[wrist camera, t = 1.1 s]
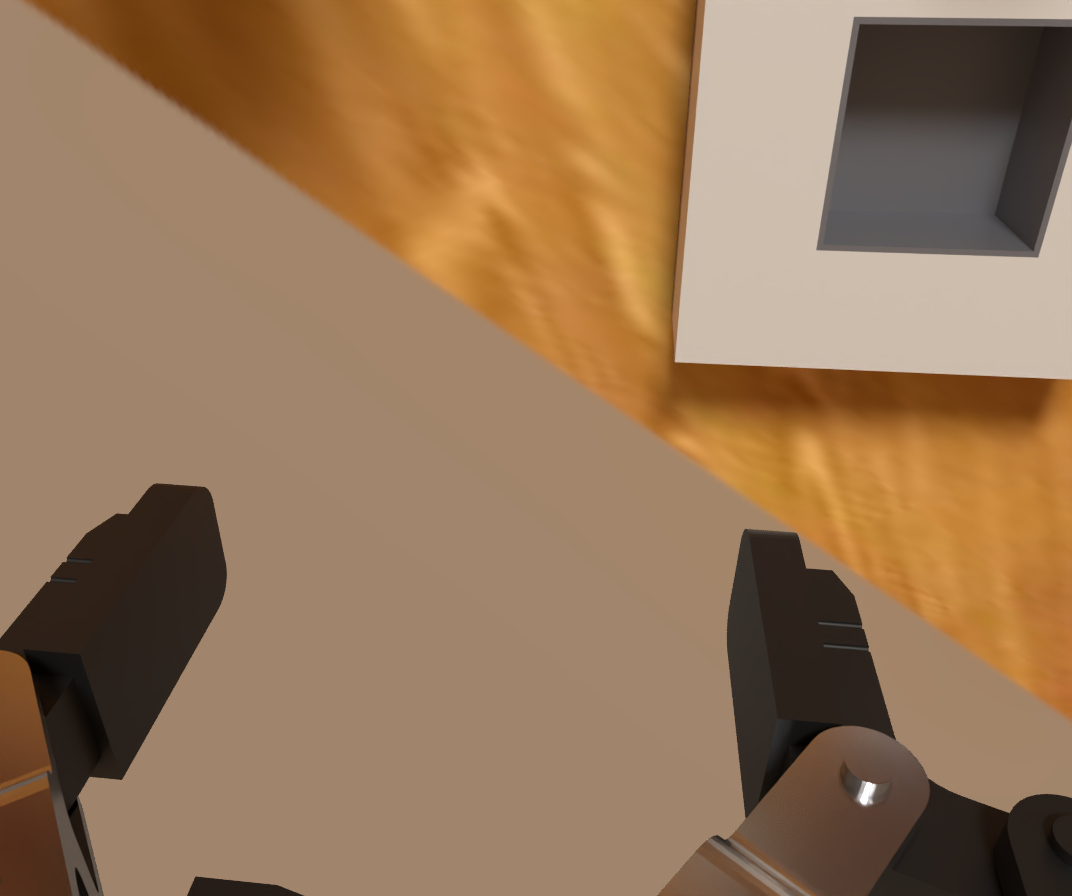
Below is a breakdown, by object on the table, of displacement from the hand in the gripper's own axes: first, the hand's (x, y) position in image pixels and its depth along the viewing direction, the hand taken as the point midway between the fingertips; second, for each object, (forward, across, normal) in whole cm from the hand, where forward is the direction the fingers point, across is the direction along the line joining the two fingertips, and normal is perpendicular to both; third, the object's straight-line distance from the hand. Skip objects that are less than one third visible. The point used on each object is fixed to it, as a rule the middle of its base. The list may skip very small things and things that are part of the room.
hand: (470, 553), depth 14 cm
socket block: (+25, -12, -1) cm, 28 cm away
